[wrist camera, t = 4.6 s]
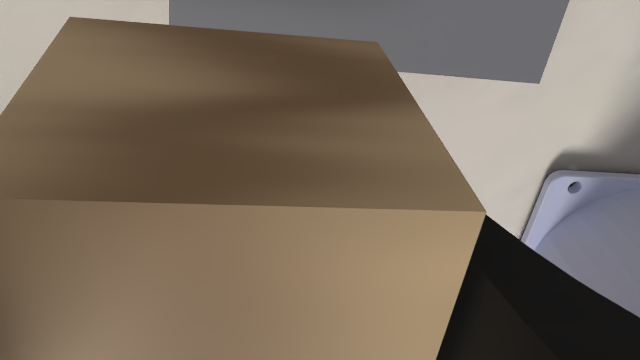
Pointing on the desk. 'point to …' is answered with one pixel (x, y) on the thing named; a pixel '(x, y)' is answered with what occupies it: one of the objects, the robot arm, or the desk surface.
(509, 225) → the desk surface
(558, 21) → the charcoal plinth
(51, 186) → the oak cube
